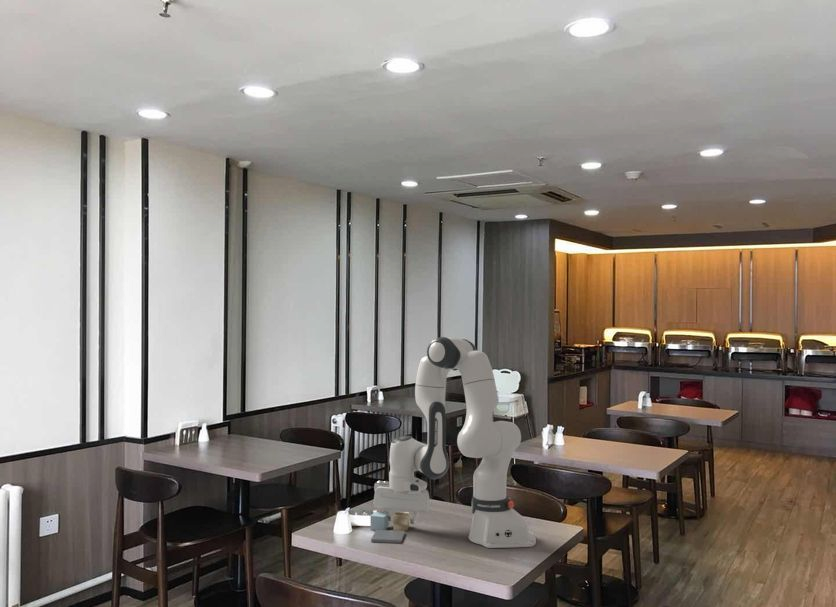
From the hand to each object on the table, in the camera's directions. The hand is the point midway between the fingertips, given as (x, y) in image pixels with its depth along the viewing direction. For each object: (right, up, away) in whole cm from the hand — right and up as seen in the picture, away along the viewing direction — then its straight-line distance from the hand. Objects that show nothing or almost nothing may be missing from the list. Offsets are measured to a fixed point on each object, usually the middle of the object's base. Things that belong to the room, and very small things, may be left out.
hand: (401, 522), depth 239 cm
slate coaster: (-4, -2, -11) cm, 12 cm away
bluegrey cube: (-8, -2, -1) cm, 8 cm away
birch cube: (0, -2, -1) cm, 2 cm away
